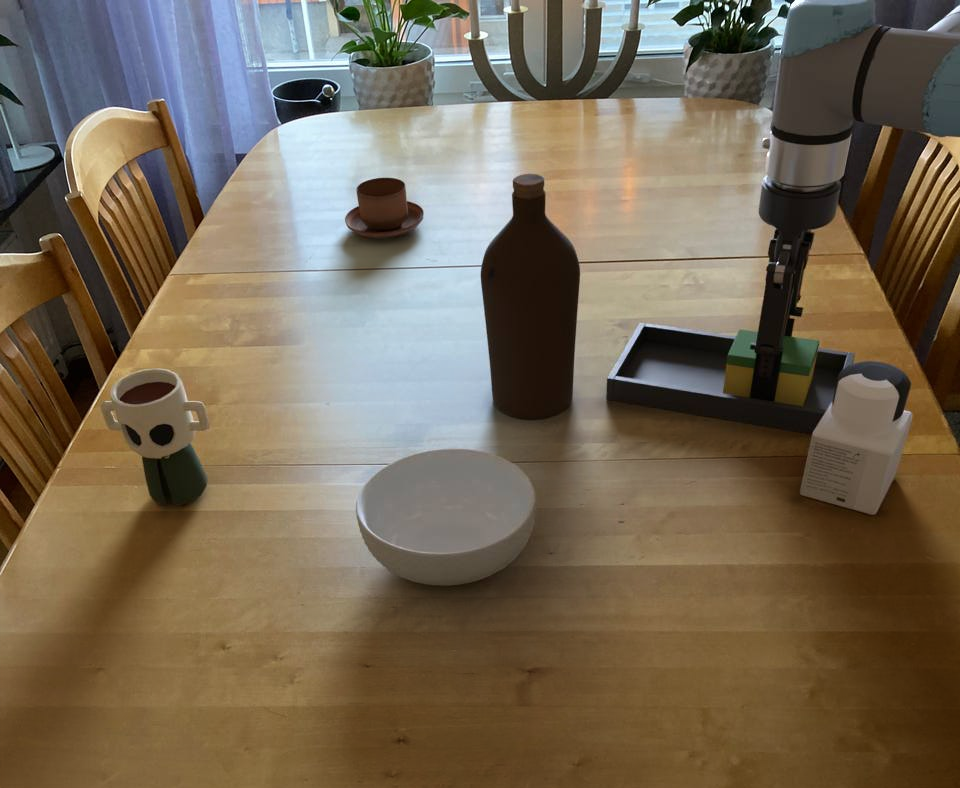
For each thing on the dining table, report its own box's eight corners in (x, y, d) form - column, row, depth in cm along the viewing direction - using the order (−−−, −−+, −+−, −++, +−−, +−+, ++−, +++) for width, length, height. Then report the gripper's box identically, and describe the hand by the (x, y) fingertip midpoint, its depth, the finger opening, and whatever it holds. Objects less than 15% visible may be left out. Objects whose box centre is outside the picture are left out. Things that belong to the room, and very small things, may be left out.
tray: (850, 374, 117) (855, 353, 115) (832, 437, 109) (837, 415, 107) (638, 342, 125) (639, 322, 123) (605, 399, 116) (606, 378, 114)
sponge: (811, 379, 116) (819, 340, 112) (802, 406, 112) (810, 366, 108) (733, 367, 118) (739, 328, 115) (722, 394, 114) (727, 354, 111)
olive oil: (557, 430, 112) (558, 206, 95) (472, 412, 116) (457, 193, 98) (591, 383, 119) (597, 165, 101) (509, 367, 123) (501, 154, 105)
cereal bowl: (559, 520, 101) (560, 463, 96) (500, 630, 91) (497, 572, 86) (408, 489, 106) (401, 432, 101) (335, 589, 96) (323, 532, 91)
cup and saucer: (333, 226, 155) (326, 185, 150) (399, 205, 159) (395, 165, 154) (370, 252, 147) (364, 210, 143) (439, 230, 152) (436, 188, 147)
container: (821, 456, 107) (847, 345, 97) (895, 475, 103) (929, 363, 94) (798, 496, 102) (822, 383, 93) (874, 517, 99) (907, 403, 90)
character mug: (121, 512, 106) (79, 406, 97) (142, 472, 111) (105, 367, 102) (220, 513, 105) (188, 406, 96) (237, 472, 110) (208, 367, 101)
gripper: (781, 139, 106) (751, 340, 122) (743, 212, 93) (716, 423, 110) (855, 145, 103) (814, 349, 120) (826, 220, 91) (785, 435, 108)
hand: (767, 384), depth 115 cm, fingers closed on sponge, 6 cm apart
